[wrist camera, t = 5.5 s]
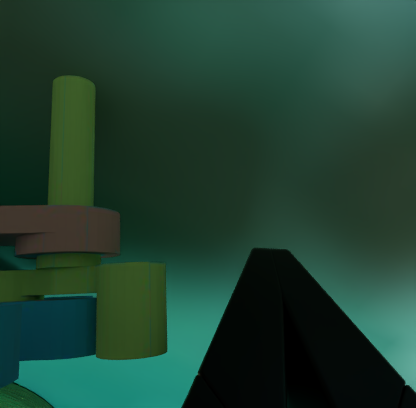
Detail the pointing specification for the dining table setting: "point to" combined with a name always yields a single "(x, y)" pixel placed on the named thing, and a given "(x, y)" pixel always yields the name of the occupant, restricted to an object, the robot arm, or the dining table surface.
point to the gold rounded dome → (20, 398)
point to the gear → (75, 260)
